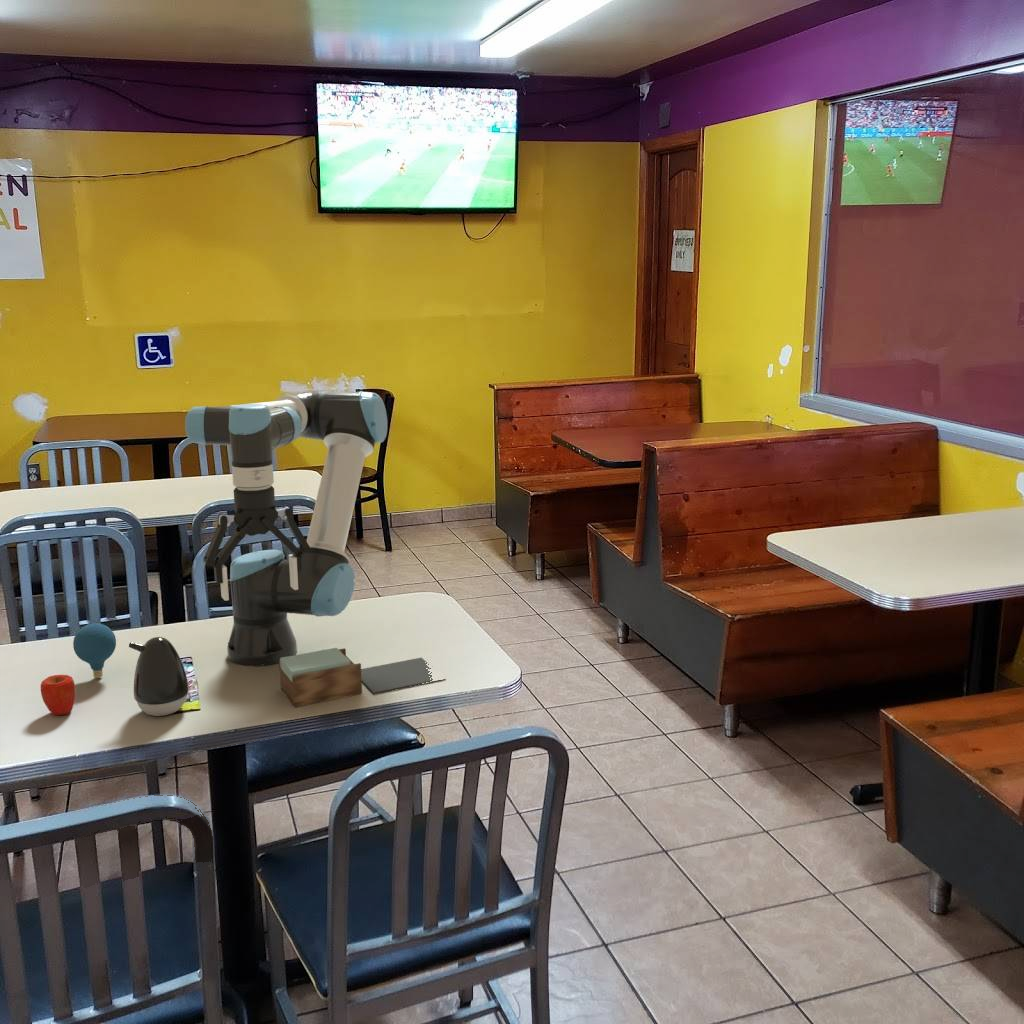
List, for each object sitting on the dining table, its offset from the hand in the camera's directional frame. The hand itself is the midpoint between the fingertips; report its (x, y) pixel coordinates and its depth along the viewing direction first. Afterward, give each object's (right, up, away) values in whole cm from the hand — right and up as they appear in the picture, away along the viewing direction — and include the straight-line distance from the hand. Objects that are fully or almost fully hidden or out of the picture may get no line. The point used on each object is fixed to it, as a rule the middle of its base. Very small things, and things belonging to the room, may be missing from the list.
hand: (260, 593), depth 199 cm
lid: (+9, -16, +9) cm, 21 cm away
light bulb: (-39, -19, +18) cm, 47 cm away
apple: (-39, -24, +1) cm, 46 cm away
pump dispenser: (-20, -23, +2) cm, 31 cm away
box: (+10, -21, +11) cm, 25 cm away
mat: (+25, -19, +18) cm, 36 cm away
